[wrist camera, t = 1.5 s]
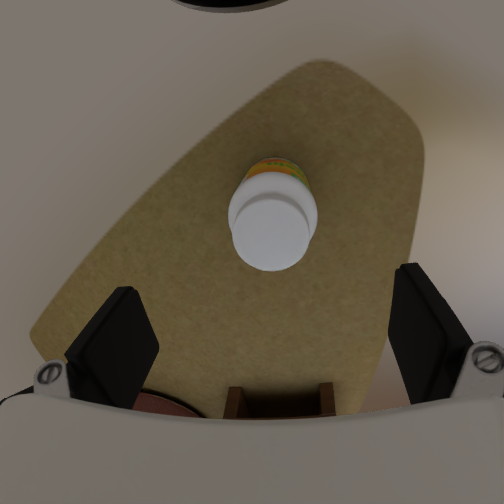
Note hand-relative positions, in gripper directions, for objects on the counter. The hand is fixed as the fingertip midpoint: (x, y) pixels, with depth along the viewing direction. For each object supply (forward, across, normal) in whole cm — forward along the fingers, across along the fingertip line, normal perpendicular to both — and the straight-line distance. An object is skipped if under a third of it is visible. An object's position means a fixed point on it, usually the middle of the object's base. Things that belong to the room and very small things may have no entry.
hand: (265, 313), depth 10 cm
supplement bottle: (+16, 0, -1) cm, 16 cm away
